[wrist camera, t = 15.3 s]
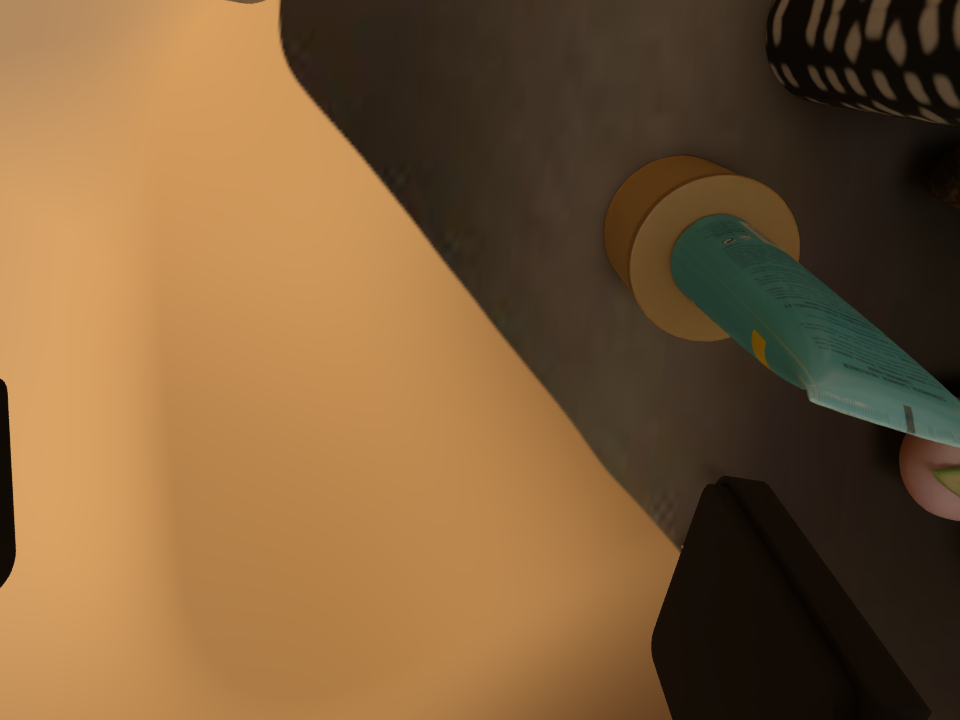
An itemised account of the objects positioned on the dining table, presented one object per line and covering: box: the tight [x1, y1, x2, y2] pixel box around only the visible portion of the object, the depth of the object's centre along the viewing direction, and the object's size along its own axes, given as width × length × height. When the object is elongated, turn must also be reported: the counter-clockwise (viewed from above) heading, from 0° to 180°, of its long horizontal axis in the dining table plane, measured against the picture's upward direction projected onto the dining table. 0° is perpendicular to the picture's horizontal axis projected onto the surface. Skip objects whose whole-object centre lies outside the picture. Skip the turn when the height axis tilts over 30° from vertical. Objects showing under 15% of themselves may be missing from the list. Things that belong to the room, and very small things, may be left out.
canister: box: [604, 156, 800, 341], centre depth 44 cm, size 9×9×8 cm
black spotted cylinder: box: [766, 0, 960, 127], centre depth 35 cm, size 8×8×20 cm
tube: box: [670, 214, 960, 448], centre depth 32 cm, size 7×5×19 cm, turn 77°
